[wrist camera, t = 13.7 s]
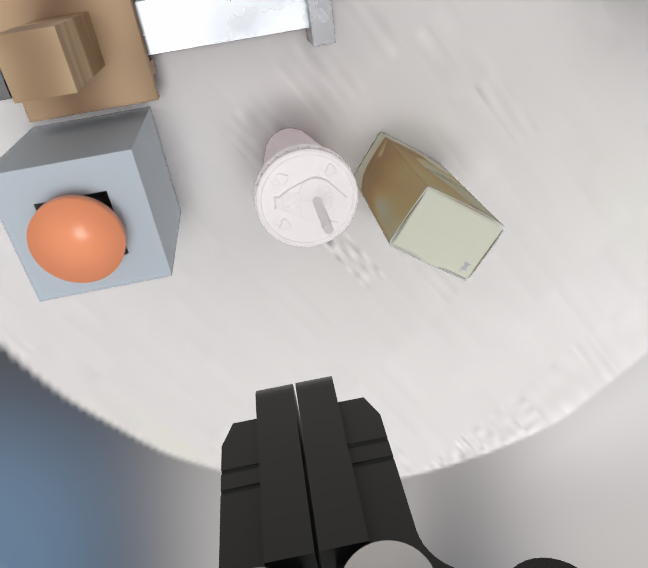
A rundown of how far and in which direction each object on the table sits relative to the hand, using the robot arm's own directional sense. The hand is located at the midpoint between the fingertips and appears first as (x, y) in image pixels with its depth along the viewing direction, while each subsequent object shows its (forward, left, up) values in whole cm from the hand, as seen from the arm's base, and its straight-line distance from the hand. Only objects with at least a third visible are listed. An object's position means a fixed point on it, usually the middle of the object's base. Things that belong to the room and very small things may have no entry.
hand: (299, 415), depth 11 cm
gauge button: (+10, +4, -28) cm, 30 cm away
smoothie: (-3, +5, -33) cm, 34 cm away
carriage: (+9, -5, -33) cm, 35 cm away
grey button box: (+10, +4, -33) cm, 35 cm away
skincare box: (-11, +8, -33) cm, 36 cm away
